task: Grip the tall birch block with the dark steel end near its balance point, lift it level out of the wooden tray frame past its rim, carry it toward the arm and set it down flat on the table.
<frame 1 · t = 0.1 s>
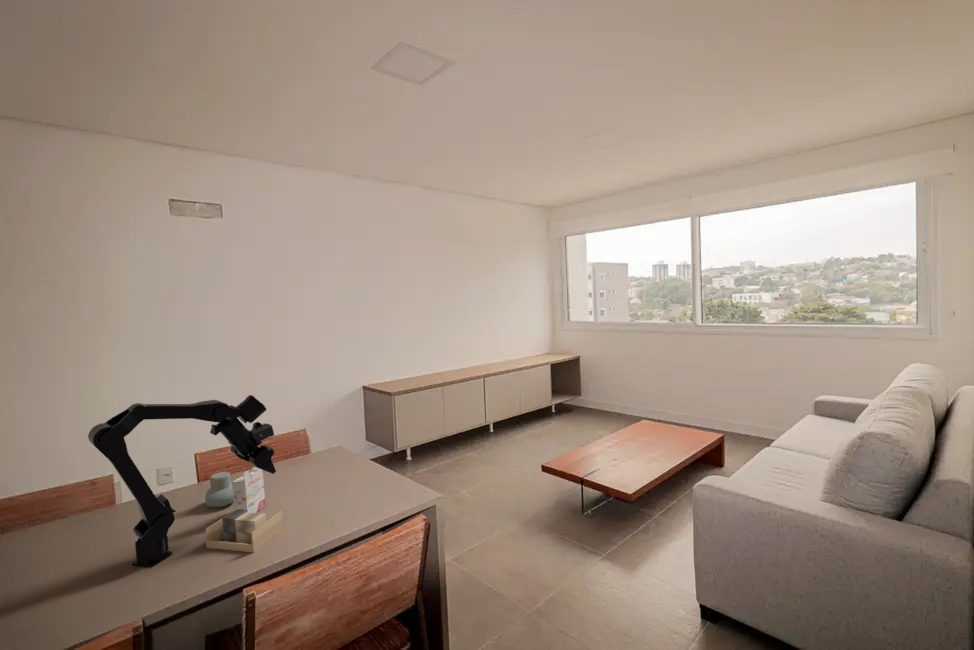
hand: (268, 469, 145), 15 cm above the table, tool tilted 30°, fingers open, 9 cm apart
air freshener: (222, 504, 155), on the table
wooden tray frame: (246, 538, 132), on the table
steel ended block: (246, 538, 132), resting in wooden tray frame
ink cartridge box: (250, 512, 149), on the table
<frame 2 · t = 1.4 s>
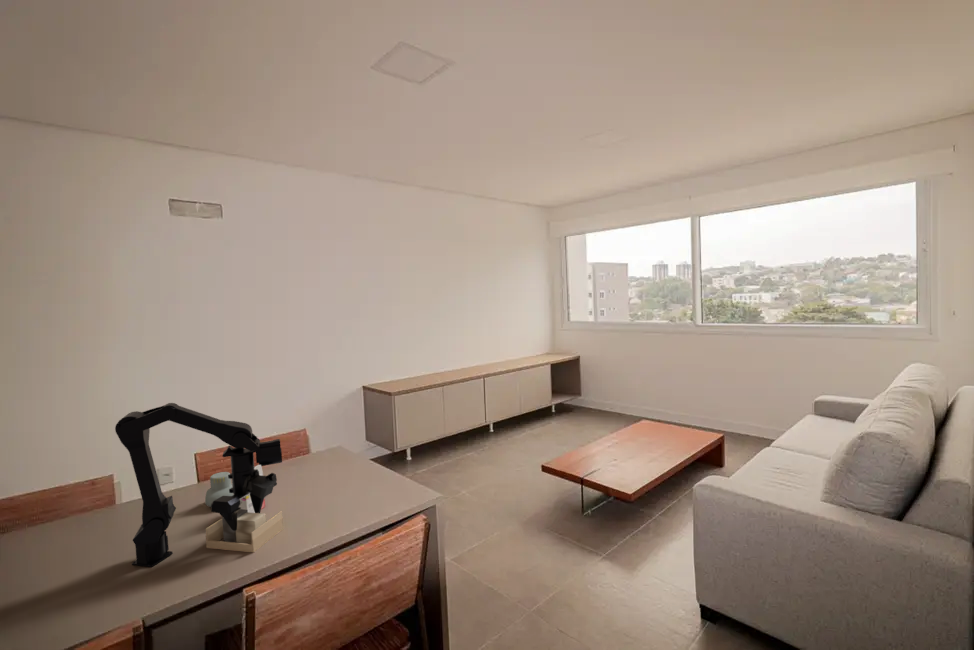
hand: (246, 522, 132), 5 cm above the table, tool pointing down, fingers open, 9 cm apart
nothing on the table moved.
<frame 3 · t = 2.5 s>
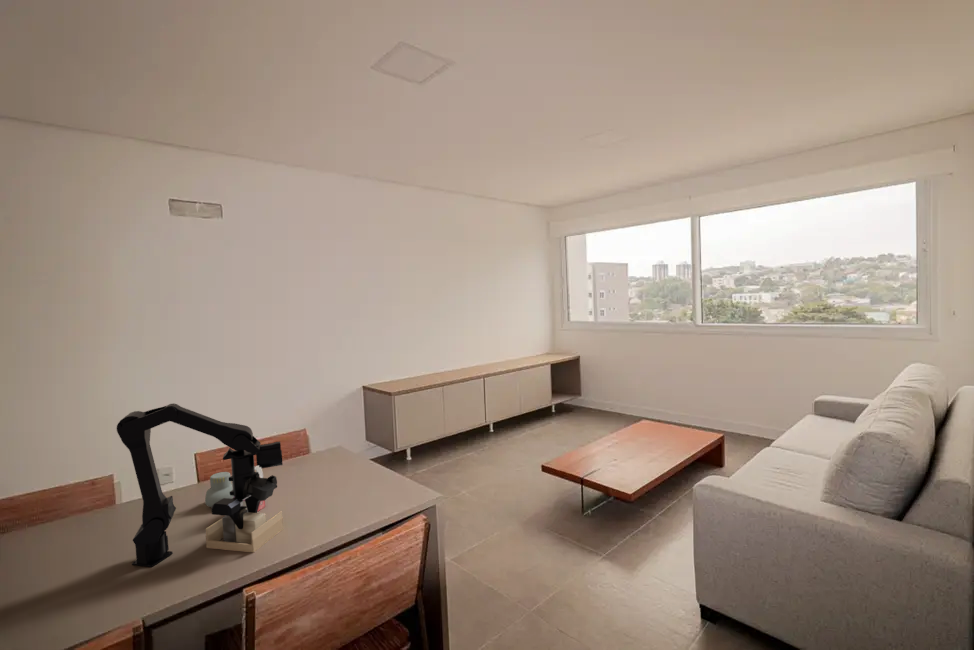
hand: (247, 524, 132), 4 cm above the table, tool pointing down, fingers closed on steel ended block, 4 cm apart
steel ended block: (246, 538, 132), resting in wooden tray frame, touching gripper
everything else where it was.
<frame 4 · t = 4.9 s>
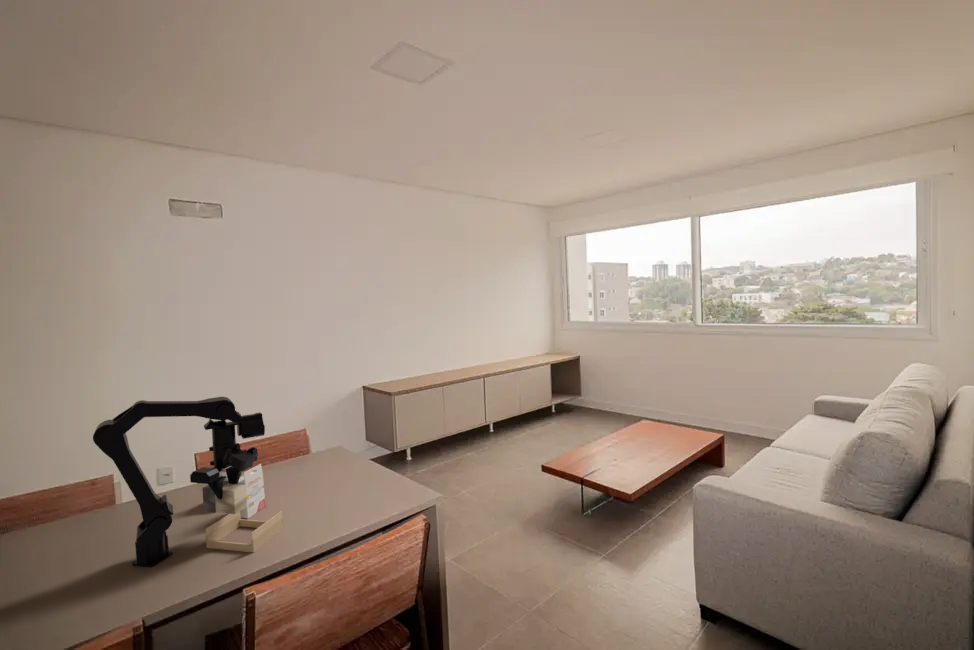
hand: (226, 495, 132), 12 cm above the table, tool pointing down, fingers closed on steel ended block, 4 cm apart
steel ended block: (226, 509, 133), point 8 cm above the table, touching gripper
everything else where it was.
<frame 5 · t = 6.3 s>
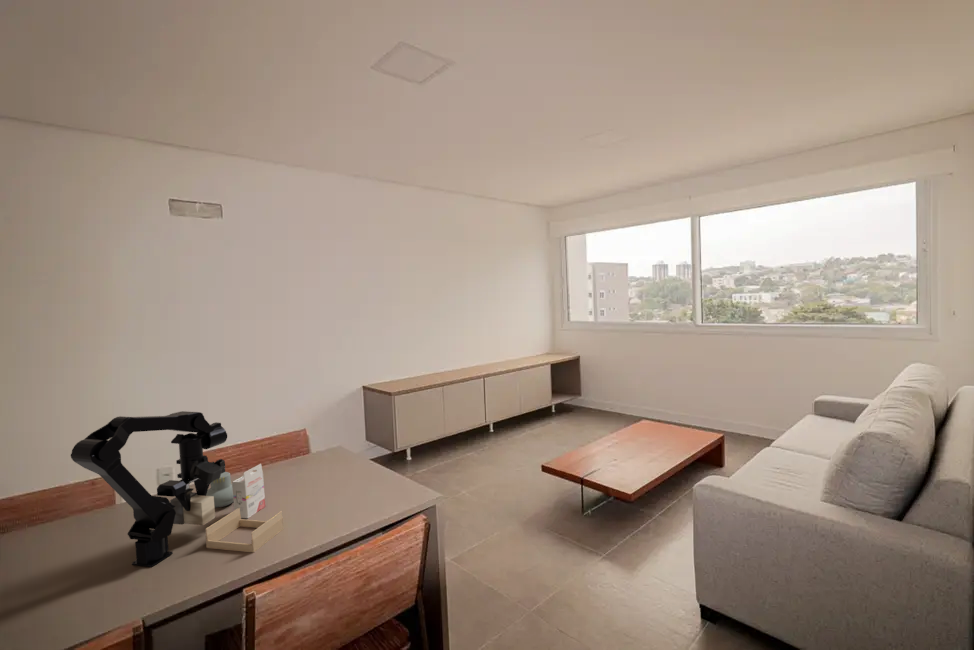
hand: (195, 507, 135), 8 cm above the table, tool pointing down, fingers closed on steel ended block, 4 cm apart
steel ended block: (194, 520, 135), point 4 cm above the table, touching gripper
everything else where it was.
when the fingers open (5 cm above the table, at t = 7.5 s): steel ended block drops 1 cm, on the table.
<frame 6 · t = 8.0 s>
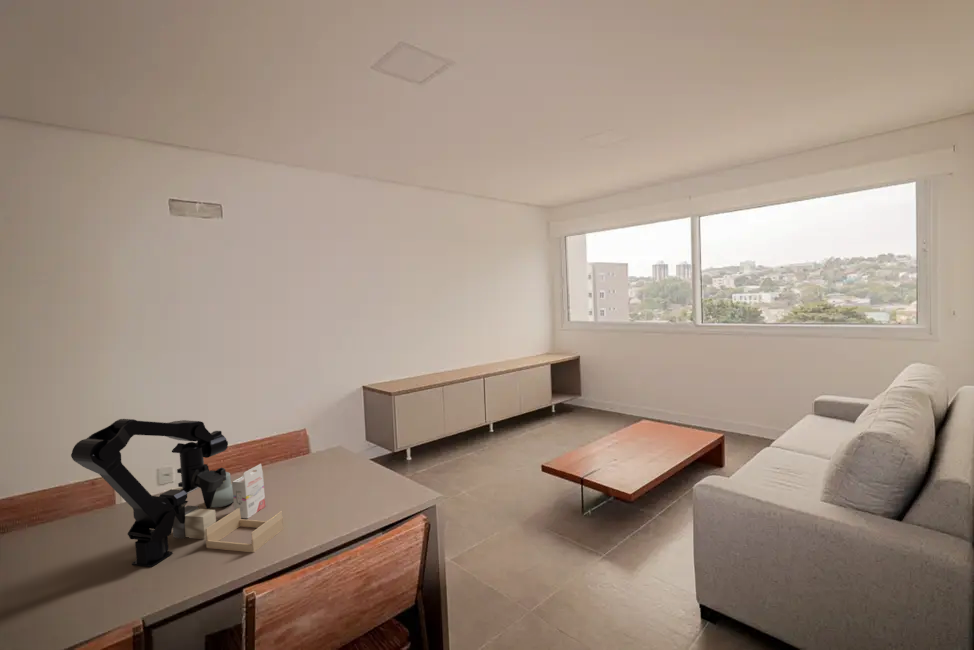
hand: (196, 515, 135), 5 cm above the table, tool pointing down, fingers open, 9 cm apart
steel ended block: (196, 533, 136), on the table
everything else where it was.
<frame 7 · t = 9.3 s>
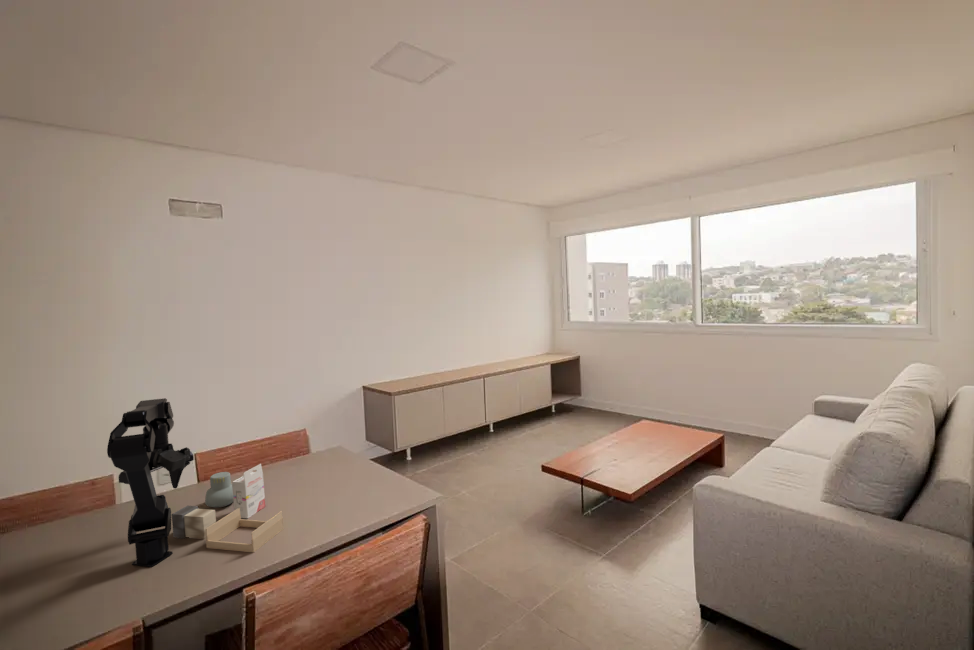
hand: (160, 494, 135), 12 cm above the table, tool pointing down, fingers open, 9 cm apart
nothing on the table moved.
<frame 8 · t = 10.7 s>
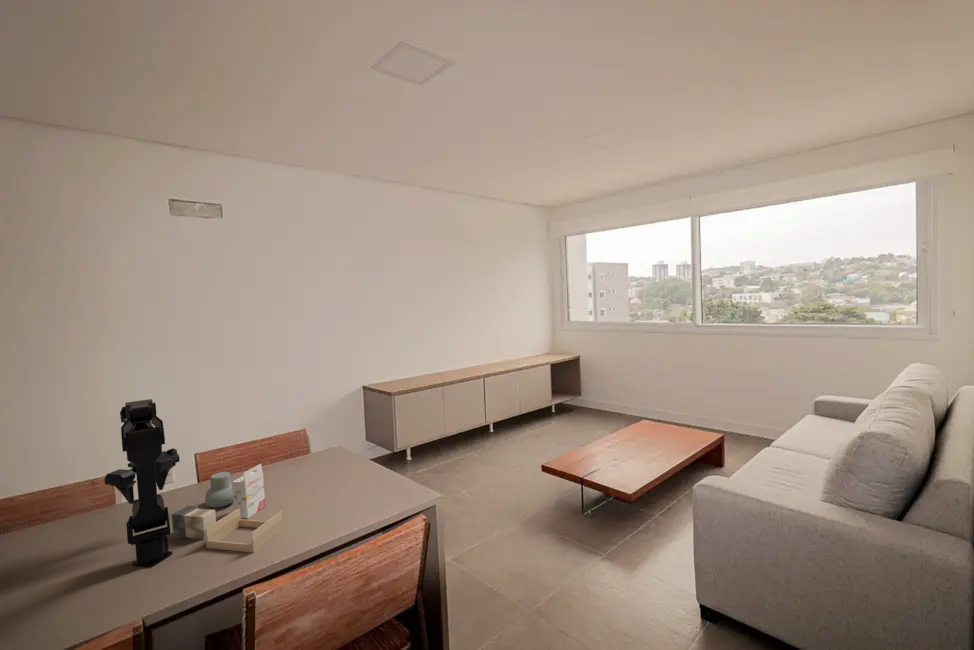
hand: (146, 496, 134), 12 cm above the table, tool pointing down, fingers open, 9 cm apart
nothing on the table moved.
at the end: steel ended block inside the target area (0.1 cm from its centre), on the table; steel ended block tilted 0°; steel ended block touching table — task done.
